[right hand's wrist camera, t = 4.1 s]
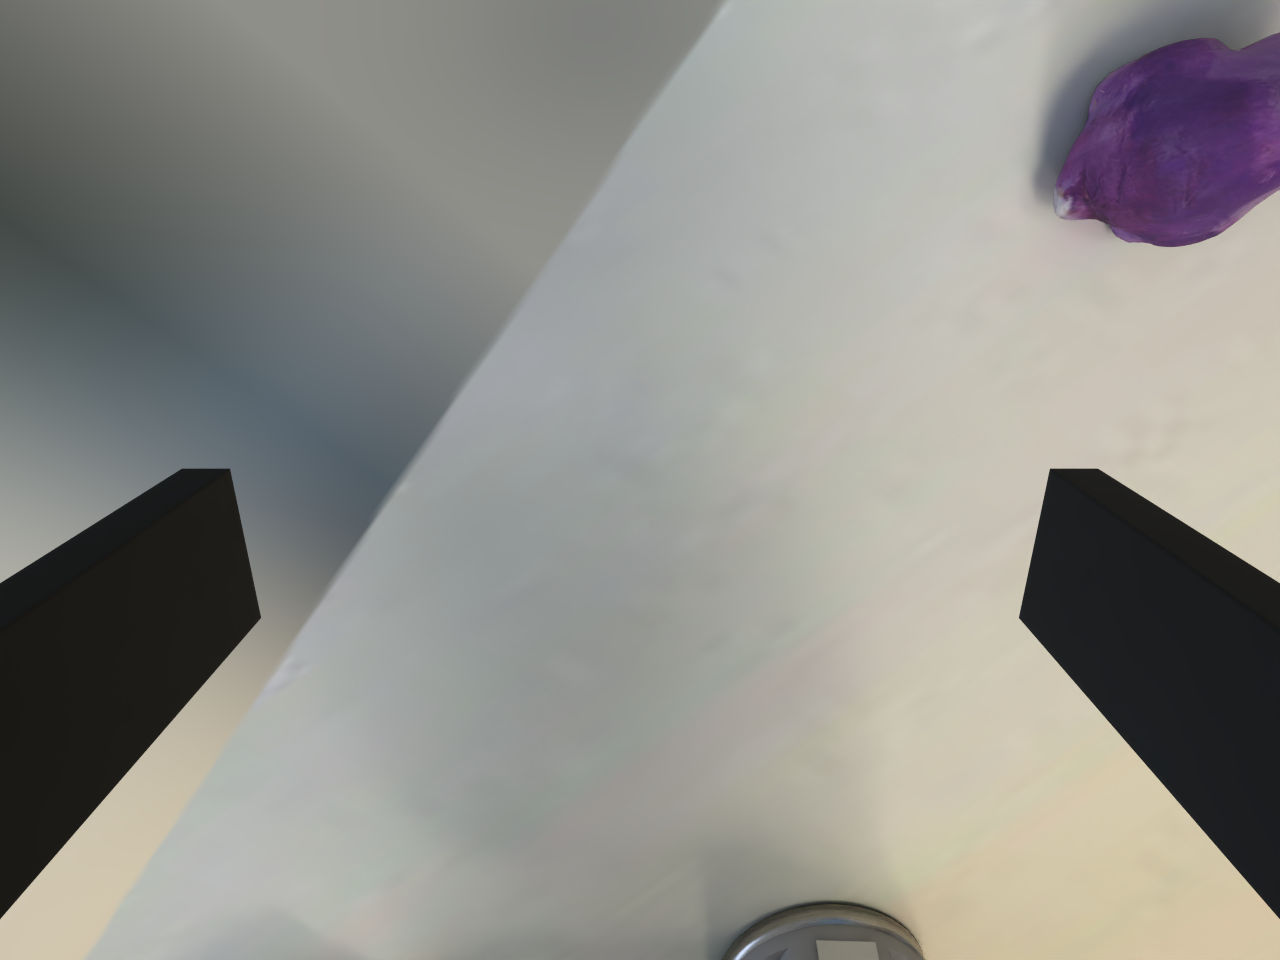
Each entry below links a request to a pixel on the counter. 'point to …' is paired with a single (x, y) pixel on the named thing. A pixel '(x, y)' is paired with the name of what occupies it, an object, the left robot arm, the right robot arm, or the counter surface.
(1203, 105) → the figurine
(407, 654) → the counter surface
